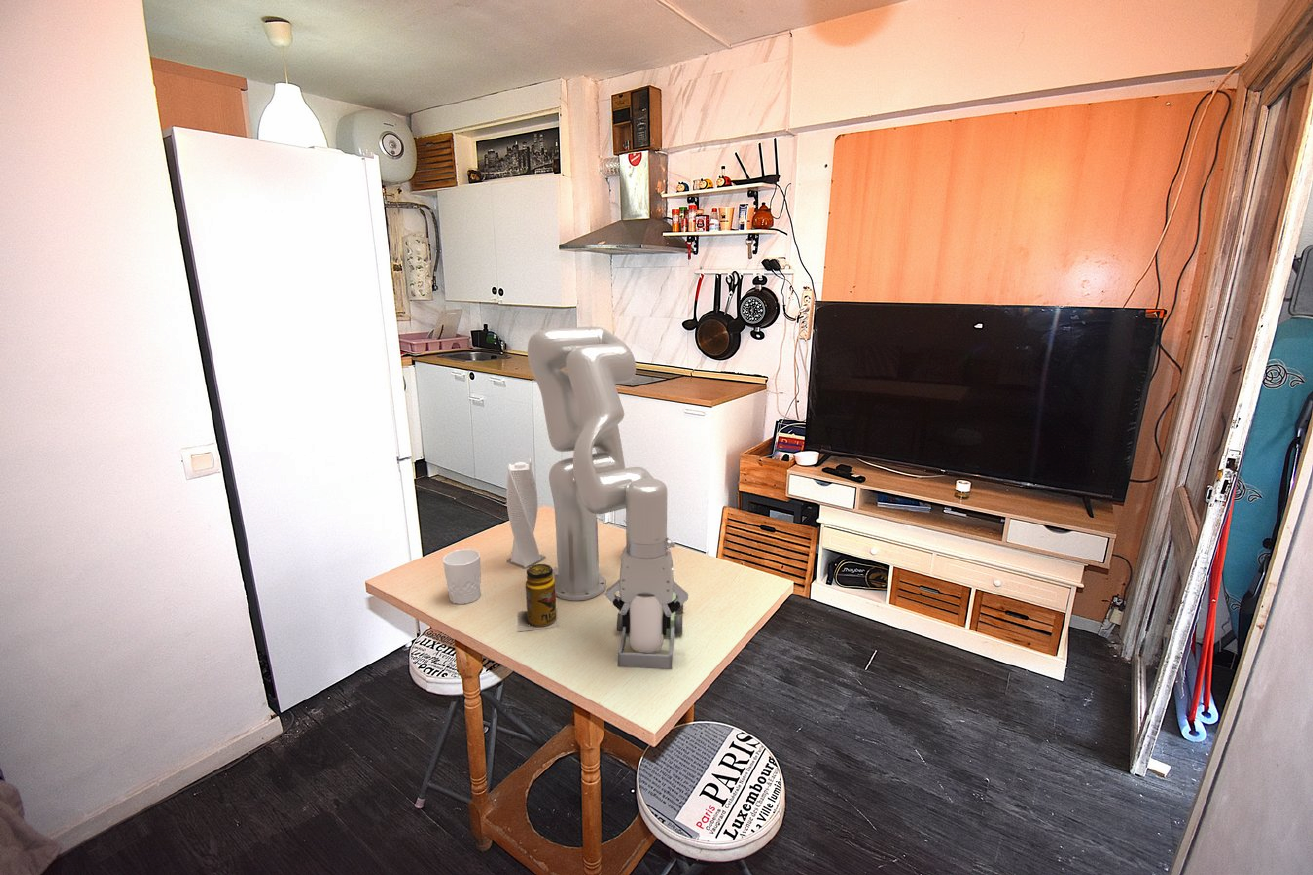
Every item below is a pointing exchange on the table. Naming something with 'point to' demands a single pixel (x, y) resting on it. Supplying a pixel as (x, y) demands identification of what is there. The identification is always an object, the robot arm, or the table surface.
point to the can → (646, 624)
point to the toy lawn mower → (650, 659)
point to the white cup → (463, 575)
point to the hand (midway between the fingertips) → (646, 629)
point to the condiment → (539, 600)
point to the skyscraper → (522, 514)
